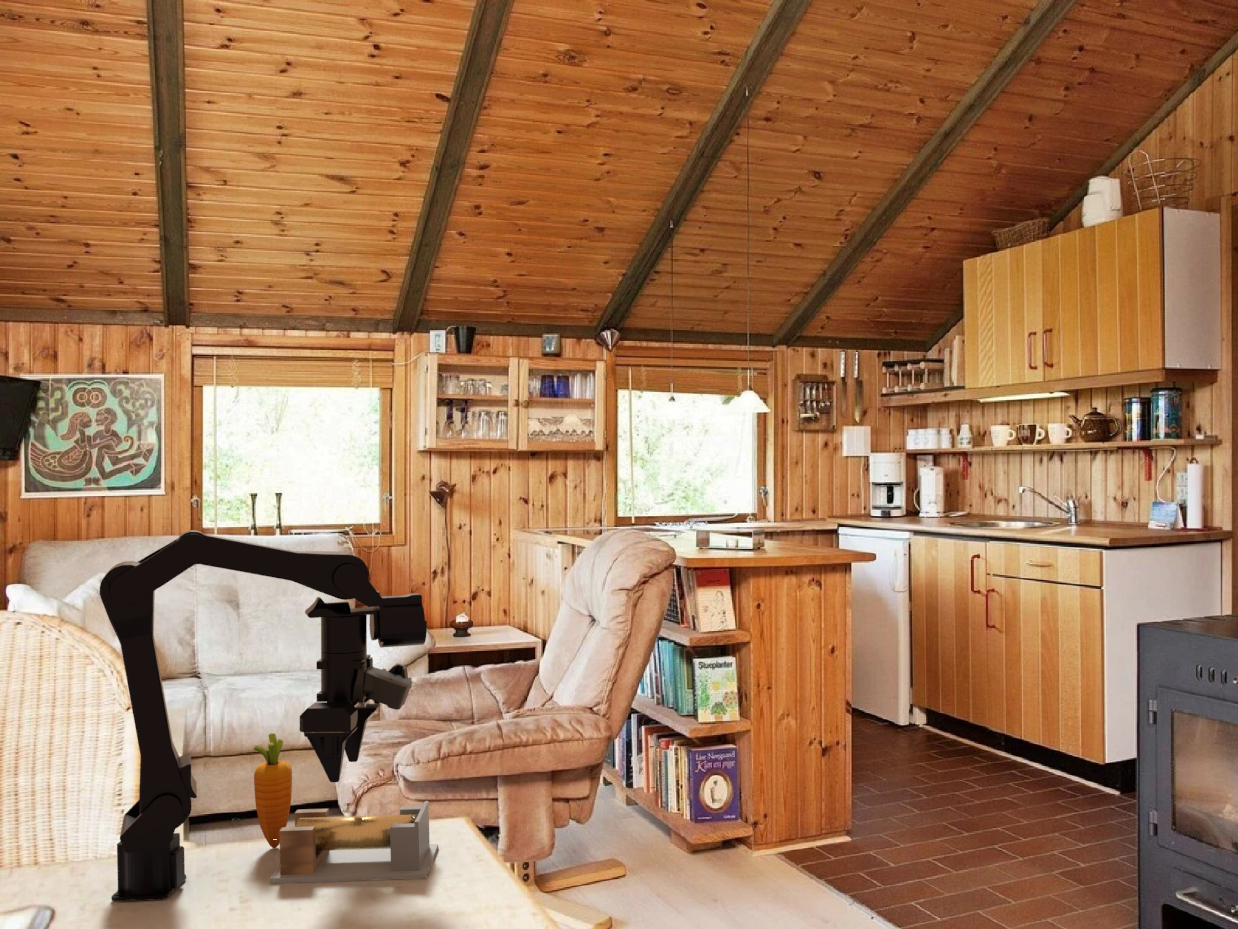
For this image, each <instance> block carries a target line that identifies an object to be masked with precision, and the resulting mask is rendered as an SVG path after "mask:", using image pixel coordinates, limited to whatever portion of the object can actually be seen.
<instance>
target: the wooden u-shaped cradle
mask: <svg viewBox="0 0 1238 929" xmlns="http://www.w3.org/2000/svg"><path fill="white" fill-rule="evenodd" d="M329 810H330V809H329V808H307V809H305V808H304V809H296V811H295V812H294V826H286V827H282V829H281V830H280V831H279V835H280V843H279V866H280V875H296V874H313V873H314V872H315V871H316V869H317V868H318V866H319V865H320V863H321V862H322V860H323V859H324V857H325V856H326V854H327V853H328V851H316V848H315V826H309V827H296V824H297V821H298V819H299V818H317V817H330V813H329Z"/></svg>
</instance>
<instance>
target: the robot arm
mask: <svg viewBox="0 0 1238 929" xmlns="http://www.w3.org/2000/svg"><path fill="white" fill-rule="evenodd" d="M194 565H202V566H208V567H215V568H218V569H225V570H229V571H236V572H241V573H247V574H252V575H258V576H263V577H268V578H275V579H278V580H279V579H281V580H286V581H290V582H294V583H297V584H299V585H302V586H304V587H306V588H309V589H311V590H314V591H316V592H319V593H322V594H324V595H327V596H330V597H333V598H336V599H339V600H347V601H338V602H336V601H334V602H325V601H324V599H323V598H322V597H320V596H318V597H317V596H316V598H315V600H314V601H313V603H312V604H311V605H310V606H309V607H308V608H306V609H305V611H304V613H305V615H306V616H307V617H308V618H309V619H316V618H320V659H318V660H317V661H316V670H320V691H319V692H316V702H314V703H312V704H311V705H310V706H309V707H307V708H306V709H305V710H304V711H303V712H302V713H301V714H300V715H299V732H301V733H303V736H304V737H306V738H307V740H308V742H309V744H310V745H311V746H312V749H313V750H314V752H315V755H316V757H317V758H318V761H319V762H320V764H321V767H322V769H323V770H324V772H325V775H326V777H327V779H328V781H329V782H330V783H339V781H340V780H341V774H342V769H343V768H342V767H343V761H344V756H345V754H346V757H347V760H348V762H350V763H351V762H352V763H356V762H357V761H359V756H360V752H361V748H362V743H363V740H364V735H365V732H366V727H367V723H368V720H369V718H370V717H371V716H372V715H373V714H374V713H375V712H376V711H377V710H378V709H379V708H380V706H381V704H383V705H385V706H387V708H389V709H393V710H395V711H396V710H400V709H401V708H402V707H403V706H404V705H405V703H406V702H407V698H408V695H409V692H410V689H412V684H413V678H411V677H409V675H408V667H407V666H406V665H404V664H400V663H396V664H394V665H393V666H392V667H391V668H390V669H389V670H387V669H386V668H384V667H383V668H382V669H381V668H378V667H375V666H374V664H373V662H374V661H373V660H374V658H373V657H371V654H367V652H368V651H367V650H368V649H367V648H368V646H367V644H368V643H367V642H368V640H367V638H368V636H367V627H368V626H369V636H370V639H371V641H377V642H378V645H379V648H394V647H410V646H421V645H422V646H423V645H424V644H425V643H426V640H427V630H428V627H427V626H428V624H427V620H426V617H425V616H426V615H425V610H424V608H425V607H424V605H423V596H422V594H420V593H418V592H417V593H414V592H413V593H406V594H403V595H385V596H384V595H383V596H381V592H380V591H379V590H377V589H375V587H374V586H373V584H372V583H371V582H370V572H369V569H368V568H369V567H368V566H367V564H366V562H365V561H364V560H363V559H361V558H360V557H359V556H356V555H354V554H352V553H349V552H346V551H336V550H335V551H331V550H329V551H328V550H325V551H324V550H318V551H317V550H315V551H313V550H311V551H310V550H309V551H308V550H307V551H300V550H299V551H295V550H290V549H285V548H279V547H274V546H268V545H264V544H259V543H253V542H248V541H243V540H242V541H241V540H238V539H237V540H236V539H234V538H233V539H232V538H227V537H222V536H217V535H216V536H215V535H212V534H207V533H204V532H202V531H199V530H195V529H193V530H190V529H189V530H188V531H184V532H183V533H181V534H180V535H179V537H178V538H176V539H174V540H172V541H171V542H168V544H166V545H164V546H163V547H160V548H158V549H157V550H156V551H153V552H151V553H150V554H149V555H147V556H144V557H143V558H142V559H140V560H138V561H135V560H134V561H133V560H125V561H121V562H119V563H117V564H115V565H113V567H111V568H109V570H107V573H106V574H105V575H104V576H103V578H102V579H101V581H100V585H99V597H100V599H101V602H102V604H103V607H104V610H105V612H106V615H107V617H108V620H109V623H110V624H111V626H112V629H113V631H114V633H115V635H116V638H117V639H118V642H119V644H120V648H121V654H122V660H123V665H124V670H125V675H126V676H125V677H126V681H127V683H126V684H127V688H128V693H129V698H130V705H131V708H132V709H131V710H132V716H133V721H134V726H135V727H134V728H135V732H136V737H137V743H138V750H139V755H140V756H139V757H140V764H139V795H138V796H139V798H138V800H137V801H136V802H135V803H134V804H133V805H132V806H130V808H129V809H128V810H127V811H126V812H125V814H124V815H123V819H122V823H121V829H120V836H119V840H120V841H119V842H117V843H116V855H117V856H116V858H117V860H116V862H117V863H116V864H117V866H116V867H117V890H116V892H114V893H113V895H111V902H116V901H119V902H120V901H121V902H123V901H124V902H125V901H145V900H147V901H148V900H149V901H151V900H165V899H167V898H169V897H170V896H171V895H172V894H173V893H174V892H175V891H176V890H177V889H178V888H179V887H180V886H181V885H182V884H183V882H185V881H186V880H187V874H186V873H185V872H186V871H185V870H186V869H185V847H184V846H183V845H181V837H180V836H181V833H180V832H176V829H178V828H179V827H180V826H182V825H183V824H184V823H185V822H186V821H187V819H188V818H189V816H190V815H191V812H192V799H197V797H198V792H197V787H198V786H197V780H196V779H195V778H194V777H193V774H192V773H193V772H192V756H191V755H192V753H191V752H188V753H186V754H183V755H179V753H178V751H177V748H176V746H175V743H174V742H173V736H172V730H171V725H170V719H169V714H168V708H167V702H166V696H165V692H164V686H163V681H162V680H163V679H162V673H161V668H160V662H159V657H158V652H157V646H156V641H155V640H156V639H155V634H154V633H155V632H154V631H155V594H156V593H155V591H157V589H159V588H161V587H162V586H165V585H166V584H168V583H169V582H171V581H172V580H173V579H175V578H176V577H178V576H179V575H181V574H183V573H184V572H185V571H186V570H189V569H190V568H192V567H194ZM352 599H355V600H357V601H358V602H360V604H363V605H364V606H365V607H359V608H357V607H356V608H354V607H353V608H351V606H350V603H349V602H348V600H352ZM368 615H369V624H368V626H367V623H368V621H367V619H368V618H367V616H368ZM371 700H372V701H373V702H374V703H371Z"/></svg>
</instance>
